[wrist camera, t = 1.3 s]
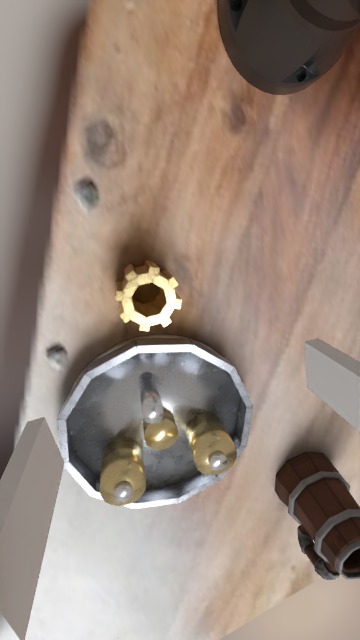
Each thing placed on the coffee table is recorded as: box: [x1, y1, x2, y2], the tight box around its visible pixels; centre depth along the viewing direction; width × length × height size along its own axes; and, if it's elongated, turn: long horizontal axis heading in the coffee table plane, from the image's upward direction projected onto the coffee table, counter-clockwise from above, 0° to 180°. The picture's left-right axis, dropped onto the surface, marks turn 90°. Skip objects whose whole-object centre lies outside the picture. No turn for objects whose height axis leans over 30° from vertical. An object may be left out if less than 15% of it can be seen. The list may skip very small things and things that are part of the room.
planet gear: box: [115, 260, 182, 331], centre depth 35 cm, size 7×7×6 cm
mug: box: [275, 452, 360, 580], centre depth 49 cm, size 16×12×15 cm
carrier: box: [58, 334, 253, 509], centre depth 40 cm, size 27×27×10 cm
